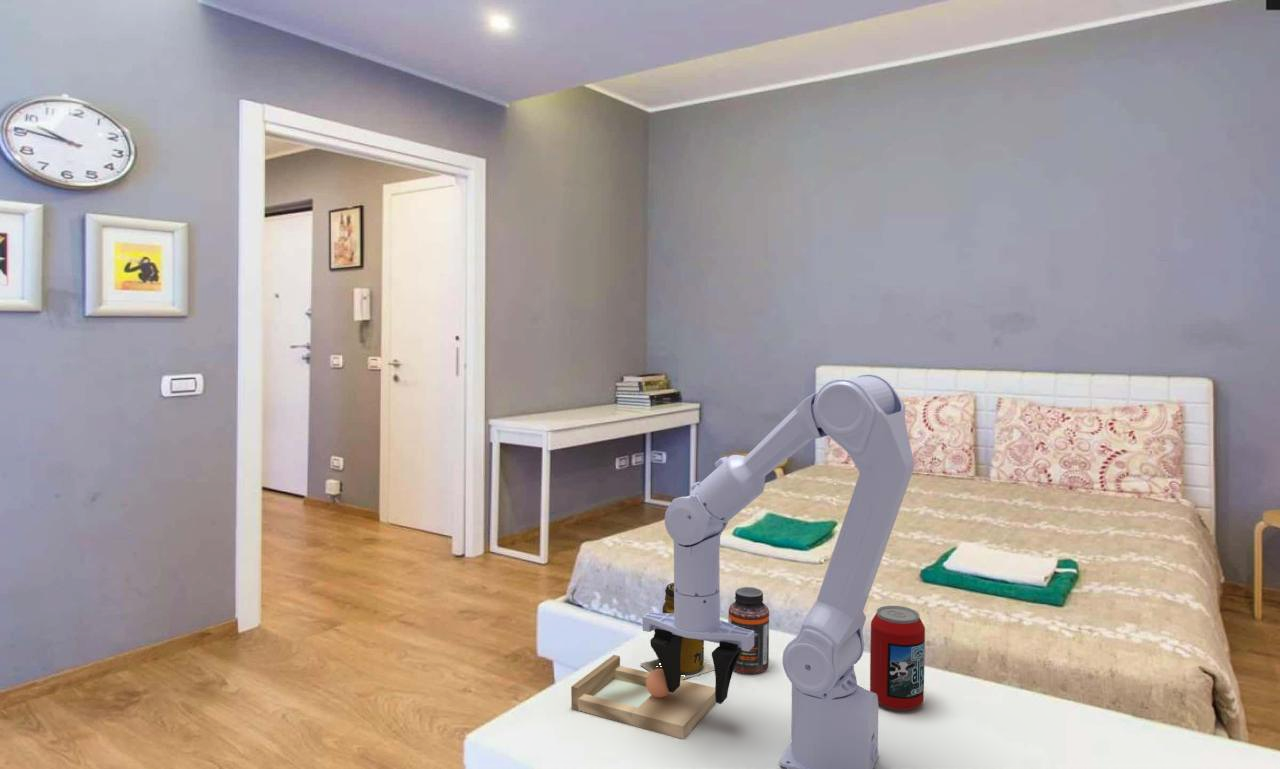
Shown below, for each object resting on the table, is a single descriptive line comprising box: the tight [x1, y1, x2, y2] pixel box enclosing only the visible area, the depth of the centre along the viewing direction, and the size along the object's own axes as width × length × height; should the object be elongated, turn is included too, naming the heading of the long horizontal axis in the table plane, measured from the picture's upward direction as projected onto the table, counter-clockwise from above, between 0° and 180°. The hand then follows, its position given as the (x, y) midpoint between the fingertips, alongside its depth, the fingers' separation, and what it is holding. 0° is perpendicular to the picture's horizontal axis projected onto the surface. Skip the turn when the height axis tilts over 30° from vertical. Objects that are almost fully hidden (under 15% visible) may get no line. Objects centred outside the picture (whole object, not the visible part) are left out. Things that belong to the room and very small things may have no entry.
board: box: [570, 654, 717, 740], centre depth 100 cm, size 16×11×3 cm
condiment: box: [640, 582, 715, 680], centre depth 111 cm, size 7×8×12 cm
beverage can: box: [869, 605, 926, 711], centre depth 100 cm, size 7×7×12 cm
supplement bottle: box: [727, 586, 770, 675], centre depth 111 cm, size 6×6×11 cm
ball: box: [646, 669, 670, 698], centre depth 99 cm, size 4×4×4 cm
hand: (697, 694), depth 97 cm, fingers open, 6 cm apart
